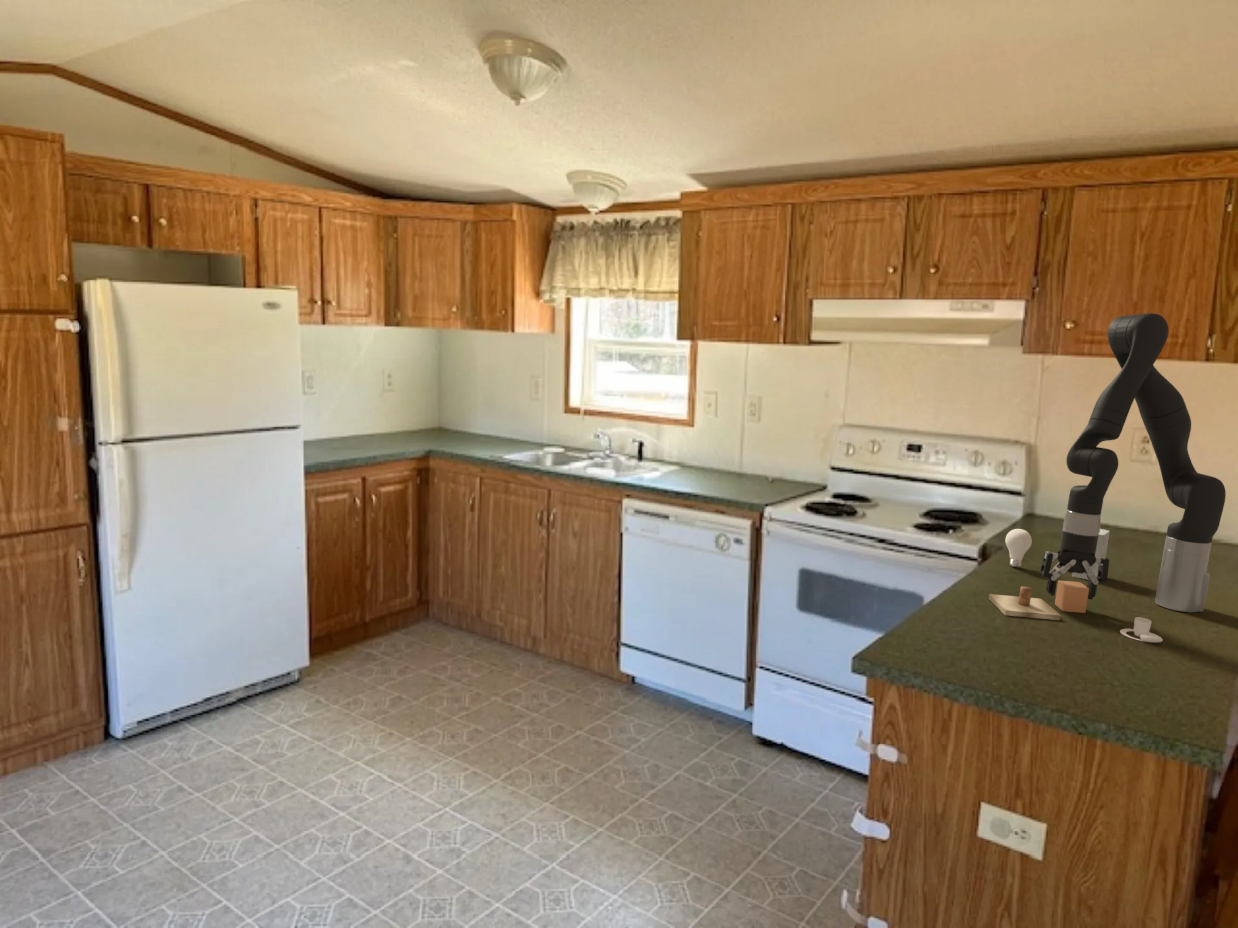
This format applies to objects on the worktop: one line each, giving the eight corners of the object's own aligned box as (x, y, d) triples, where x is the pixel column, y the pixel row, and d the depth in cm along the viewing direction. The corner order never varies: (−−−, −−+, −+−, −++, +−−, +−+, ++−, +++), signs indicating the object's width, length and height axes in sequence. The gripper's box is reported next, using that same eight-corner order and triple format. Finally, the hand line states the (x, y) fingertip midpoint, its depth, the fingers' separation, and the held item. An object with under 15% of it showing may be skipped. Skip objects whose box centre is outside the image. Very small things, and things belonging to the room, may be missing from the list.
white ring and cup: (1162, 648, 177) (1165, 630, 176) (1119, 639, 181) (1122, 621, 180) (1161, 636, 184) (1165, 619, 184) (1120, 628, 188) (1123, 610, 188)
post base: (1040, 603, 202) (1043, 582, 201) (1060, 620, 190) (1063, 598, 189) (988, 598, 203) (991, 578, 202) (1005, 615, 191) (1008, 593, 190)
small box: (1077, 571, 234) (1084, 525, 232) (1103, 576, 230) (1110, 530, 228) (1070, 576, 228) (1078, 530, 225) (1097, 582, 224) (1104, 534, 221)
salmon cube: (1076, 606, 201) (1080, 582, 200) (1085, 612, 196) (1089, 588, 195) (1054, 604, 202) (1058, 580, 201) (1062, 610, 197) (1066, 586, 196)
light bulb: (1030, 571, 230) (1036, 533, 228) (1005, 569, 231) (1010, 530, 229) (1024, 565, 236) (1029, 527, 234) (999, 562, 237) (1004, 525, 236)
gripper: (1105, 529, 199) (1094, 594, 202) (1043, 523, 201) (1032, 588, 203) (1120, 537, 192) (1108, 604, 194) (1055, 531, 193) (1044, 598, 196)
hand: (1069, 596), depth 199 cm, fingers open, 8 cm apart
